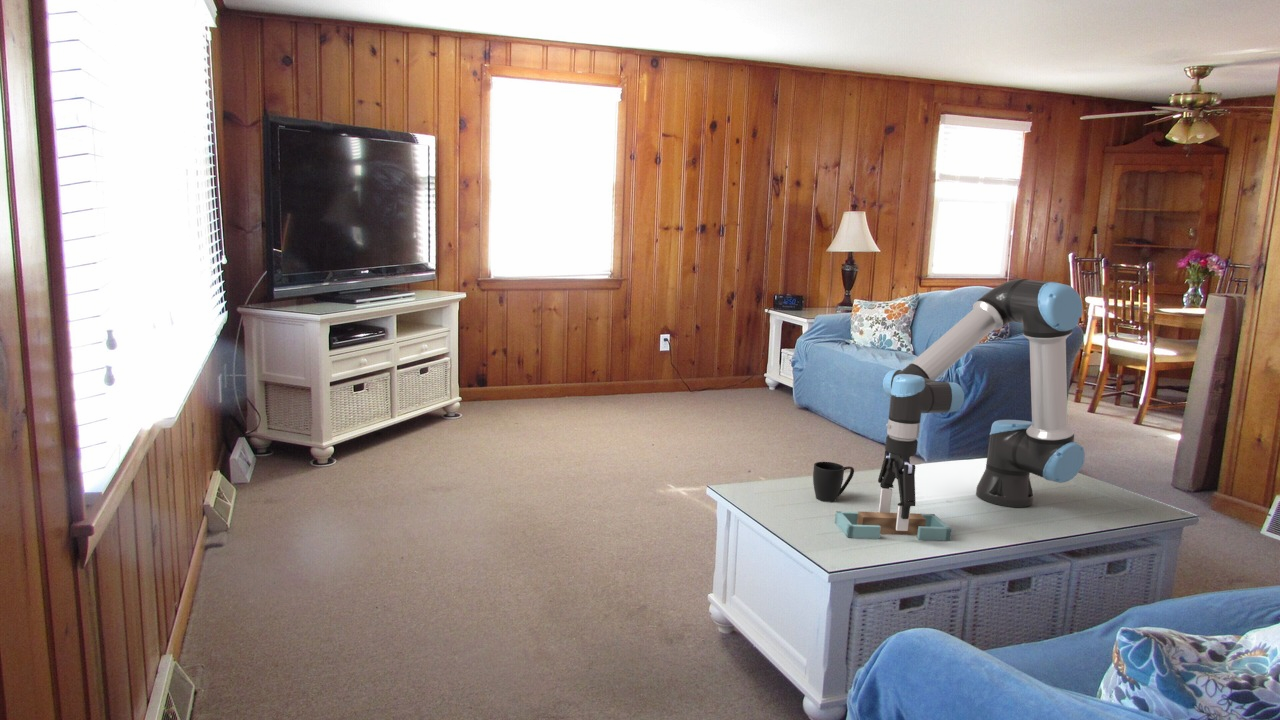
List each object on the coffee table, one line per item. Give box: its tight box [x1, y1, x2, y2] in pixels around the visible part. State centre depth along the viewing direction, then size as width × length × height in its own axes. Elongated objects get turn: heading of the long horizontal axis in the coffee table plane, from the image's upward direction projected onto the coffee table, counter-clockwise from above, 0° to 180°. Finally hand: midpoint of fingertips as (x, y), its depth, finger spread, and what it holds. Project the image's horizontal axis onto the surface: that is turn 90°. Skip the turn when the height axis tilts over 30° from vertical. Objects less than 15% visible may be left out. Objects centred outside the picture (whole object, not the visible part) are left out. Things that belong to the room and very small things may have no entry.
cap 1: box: [834, 510, 881, 540], centre depth 215 cm, size 8×10×3 cm
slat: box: [857, 511, 926, 536], centre depth 216 cm, size 16×4×4 cm, turn 93°
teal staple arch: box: [914, 512, 953, 541], centre depth 216 cm, size 8×10×3 cm
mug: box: [812, 461, 855, 503], centre depth 238 cm, size 8×12×10 cm
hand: (892, 521), depth 215 cm, fingers open, 11 cm apart
